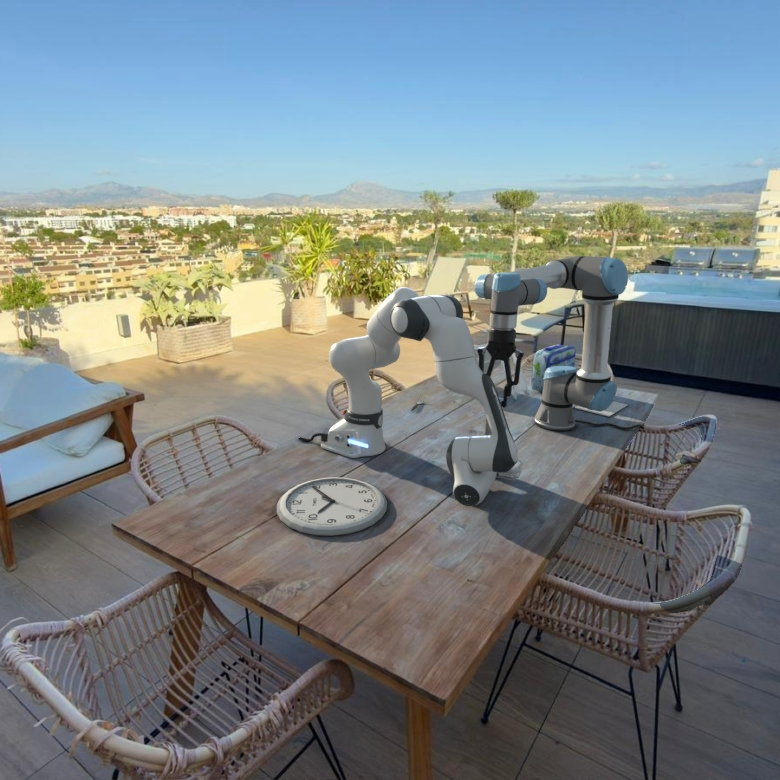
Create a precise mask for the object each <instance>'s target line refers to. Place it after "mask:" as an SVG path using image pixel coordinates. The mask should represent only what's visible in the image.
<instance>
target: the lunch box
mask: <svg viewBox="0 0 780 780" xmlns="http://www.w3.org/2000/svg"><path fill="white" fill-rule="evenodd" d="M576 357H577V355H576V347H575V346H569V345H565V344H554V345H550V346H547V347H544V348H542V349H541V348H540V349H539V350H537V351H536V352H535V353H534V356H533V360H532V367H531V368H532V369H531V382H530V383H531V386H530V387H531V389H532V390H533V391H537V392H542V391H543V382H544V379H543V378H544V374H545V371H546V369H547V368H550V367H554V366H572V367H575V364H576Z"/></svg>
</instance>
